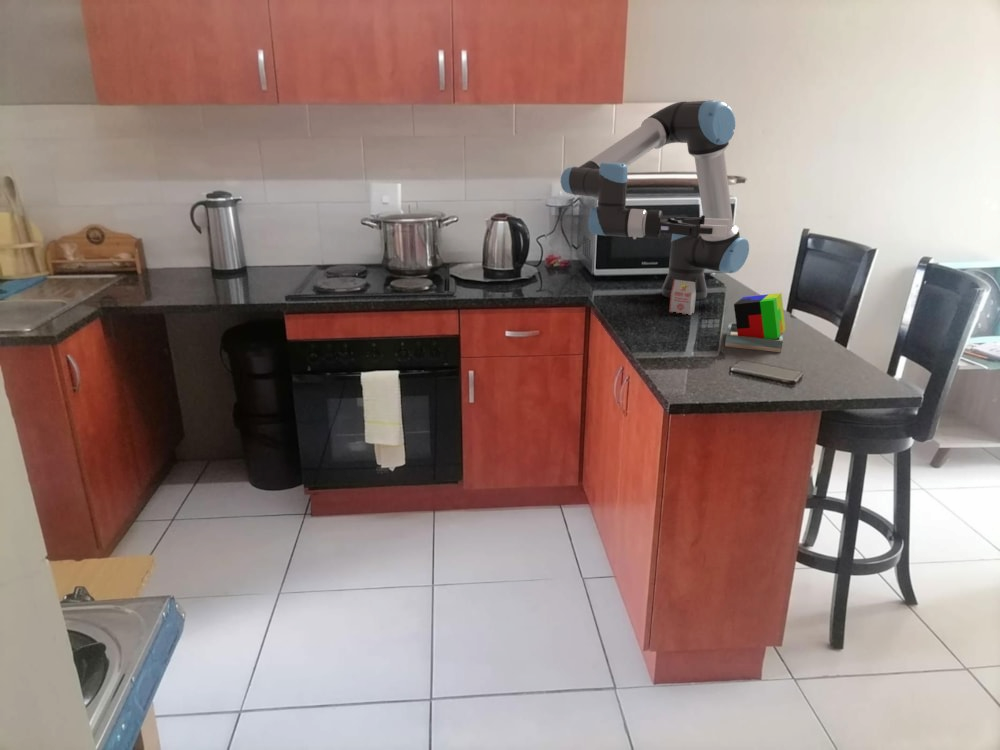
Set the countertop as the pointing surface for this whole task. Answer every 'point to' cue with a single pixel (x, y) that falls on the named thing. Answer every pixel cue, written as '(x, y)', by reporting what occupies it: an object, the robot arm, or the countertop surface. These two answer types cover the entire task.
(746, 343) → the shallow tray
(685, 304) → the tea bag
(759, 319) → the puzzle toy
